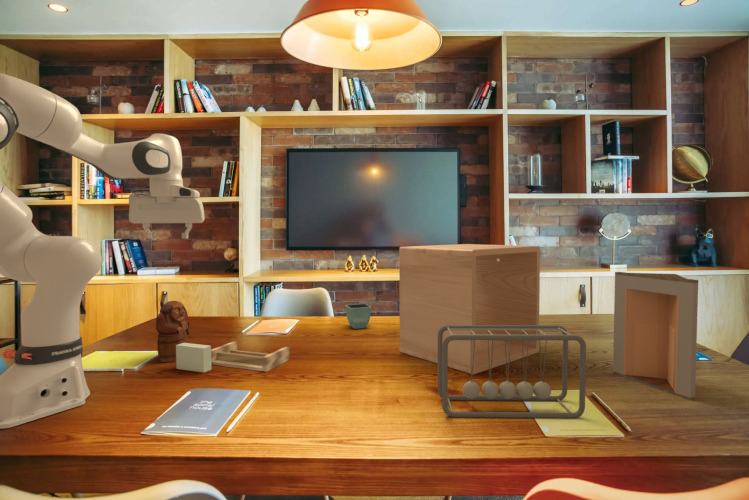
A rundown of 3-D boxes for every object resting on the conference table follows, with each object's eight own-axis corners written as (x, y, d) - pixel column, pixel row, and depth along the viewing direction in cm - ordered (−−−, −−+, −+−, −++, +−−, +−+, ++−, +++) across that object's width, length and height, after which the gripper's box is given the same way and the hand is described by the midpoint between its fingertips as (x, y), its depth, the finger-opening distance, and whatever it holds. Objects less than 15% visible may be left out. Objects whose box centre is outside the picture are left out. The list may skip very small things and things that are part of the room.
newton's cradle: (442, 418, 94) (442, 335, 93) (437, 399, 105) (437, 324, 104) (585, 419, 93) (587, 335, 92) (566, 400, 104) (567, 324, 103)
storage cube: (471, 375, 121) (472, 249, 120) (399, 352, 144) (399, 246, 142) (538, 352, 143) (540, 246, 142) (467, 335, 166) (467, 243, 164)
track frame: (266, 371, 125) (266, 357, 125) (207, 364, 133) (207, 350, 132) (289, 359, 136) (289, 347, 136) (234, 353, 144) (233, 341, 144)
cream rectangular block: (204, 372, 125) (203, 348, 125) (176, 368, 129) (175, 345, 128) (211, 369, 128) (210, 345, 127) (184, 365, 131) (183, 342, 131)
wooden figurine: (175, 363, 134) (173, 304, 133) (154, 363, 134) (153, 304, 133) (194, 352, 145) (192, 298, 144) (175, 352, 146) (174, 297, 145)
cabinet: (613, 373, 122) (615, 272, 121) (638, 369, 126) (640, 270, 124) (690, 400, 103) (693, 280, 101) (717, 394, 106) (721, 278, 105)
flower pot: (345, 326, 183) (344, 304, 183) (365, 324, 186) (365, 303, 185) (350, 330, 175) (350, 308, 174) (371, 329, 177) (371, 306, 177)
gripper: (124, 190, 125) (125, 239, 125) (200, 190, 128) (201, 238, 128) (132, 192, 131) (134, 239, 131) (205, 192, 134) (206, 238, 135)
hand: (168, 239), depth 130 cm, fingers open, 8 cm apart
